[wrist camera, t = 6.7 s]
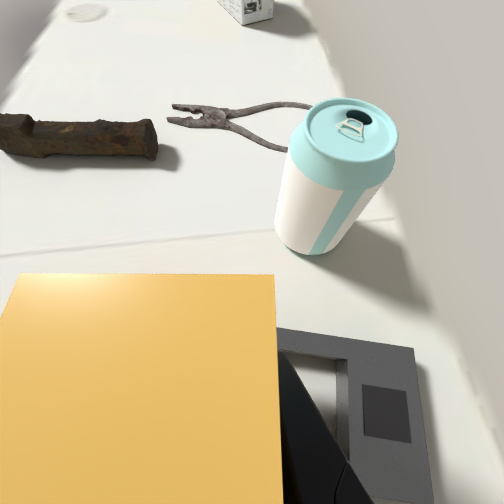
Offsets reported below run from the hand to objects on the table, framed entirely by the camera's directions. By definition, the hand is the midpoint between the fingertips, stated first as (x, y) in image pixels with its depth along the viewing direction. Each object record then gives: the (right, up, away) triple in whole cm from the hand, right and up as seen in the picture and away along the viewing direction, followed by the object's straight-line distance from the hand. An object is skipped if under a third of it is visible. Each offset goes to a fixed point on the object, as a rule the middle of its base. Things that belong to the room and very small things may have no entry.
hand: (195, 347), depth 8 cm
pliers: (+1, +19, +25) cm, 31 cm away
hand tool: (-19, +15, +22) cm, 33 cm away
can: (+8, +6, +18) cm, 20 cm away
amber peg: (0, -4, +5) cm, 7 cm away
